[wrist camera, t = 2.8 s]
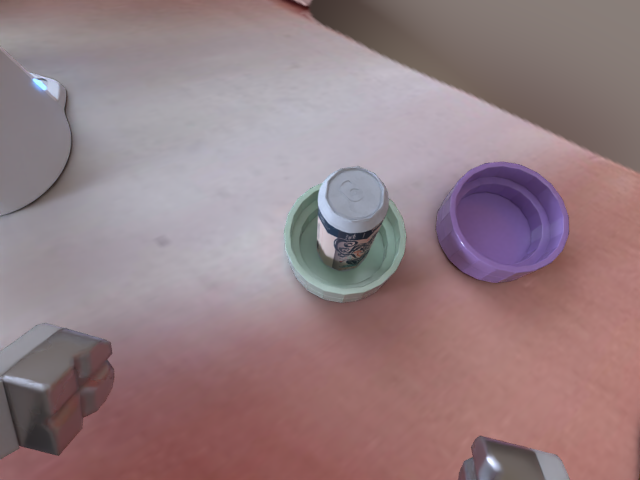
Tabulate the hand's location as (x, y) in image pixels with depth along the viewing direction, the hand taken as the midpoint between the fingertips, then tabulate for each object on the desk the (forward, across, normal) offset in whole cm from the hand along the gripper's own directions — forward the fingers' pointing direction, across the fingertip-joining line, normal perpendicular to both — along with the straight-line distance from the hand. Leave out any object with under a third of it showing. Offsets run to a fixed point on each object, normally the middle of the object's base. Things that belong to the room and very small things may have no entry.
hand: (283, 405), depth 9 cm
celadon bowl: (+27, 0, +10) cm, 29 cm away
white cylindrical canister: (+27, 0, +9) cm, 29 cm away
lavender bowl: (+31, -13, +6) cm, 34 cm away
